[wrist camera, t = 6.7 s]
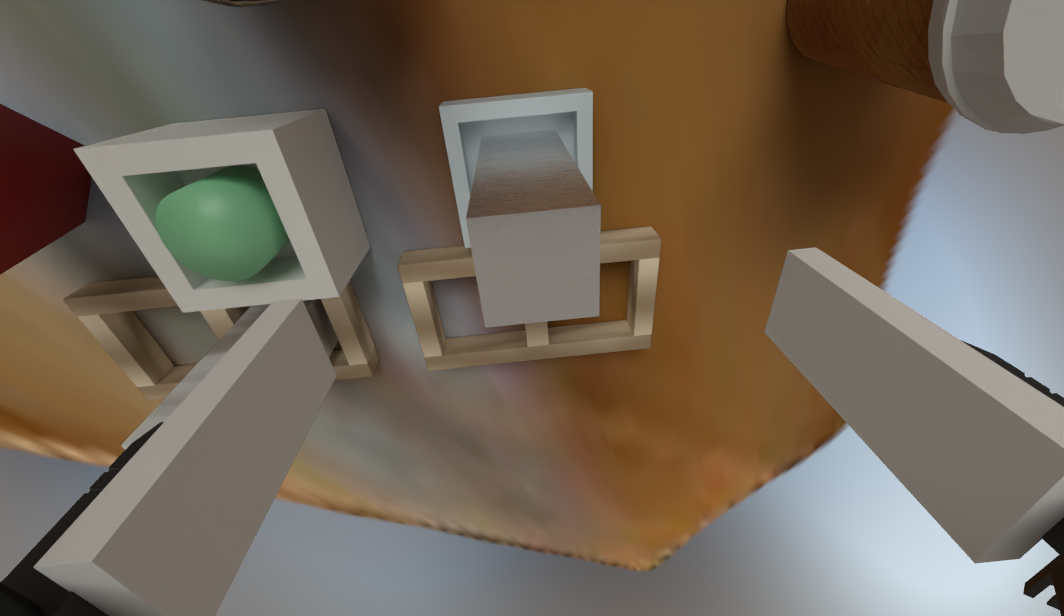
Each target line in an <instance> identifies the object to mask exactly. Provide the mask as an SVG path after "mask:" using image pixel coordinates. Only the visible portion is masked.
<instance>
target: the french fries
mask: <svg viewBox="0 0 1064 616" xmlns="http://www.w3.org/2000/svg"><path fill="white" fill-rule="evenodd" d="M83 146H84V145H82V144H80V143H78V142H76V141H74V140H72V139H70V138H68V137H66V136H64V135H62V134H60V133H58V132H56V131H54V130H52V129H50V128H48V127H46V126H44V125H42V124H40V123H38V122H35V121H33V120H31V119H29V118H27V117H25V116H23V115H21V114H19V113H17V112H15V111H13V110H11V109H9V108H7V107H5V106H3V105H1V104H0V274H2V273H3V272H5V271H7V270H8V269H10V268H12V267H13V266H15V265H16V264H18V263H20V262H21V261H23V260H24V259H26V258H28V257H29V256H31V255H32V254H34V253H36V252H37V251H39V250H40V249H42V248H44V247H45V246H47V245H48V244H50V243H52V242H53V241H55V240H57V239H58V238H60V237H61V236H63V235H65V234H66V233H68V232H69V231H71V230H73V229H74V228H76V227H77V226H79V225H81V224H82V223H84V222H85V217H86V210H87V204H88V197H89V191H90V184H91V178H92V176H91V175H90V173H89V172H88V170H87V169H86V167H85V166H84V164H83V163H82V161H81V160H80V158H79V157H78V156H77V154H76V153H75V151H74V150H73V149H75V148H79V147H83Z"/></svg>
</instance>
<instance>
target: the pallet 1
mask: <svg viewBox="0 0 1064 616" xmlns="http://www.w3.org/2000/svg"><path fill="white" fill-rule="evenodd" d="M63 300H64V301H65V303H66V304H67V305H68V306H69V307H70V309H71V310H72V311H73V312H74V313H75V314H76V316H77V317H78V318H79V319H80V320H81V322H82V323H83V324H84V325H85V326H86V327H87V329H88V330H89V331H90V332H91V333H92V335H93V336H94V337H95V338H96V339H97V340H98V342H99V343H100V344H101V345H102V346H103V347H104V349H105V350H106V351H107V352H108V353H109V355H110V356H111V357H112V358H113V359H114V360H115V362H116V363H117V364H118V365H119V366H120V368H121V369H122V370H123V371H124V372H125V373H126V375H127V376H128V377H129V378H130V379H131V381H132V382H133V383H134V384H135V385H136V386H137V388H138V389H139V390H140V391H141V392H142V394H143V395H144V396H145V397H146V398H147V399H148V400H152V399H162V398H165V399H164V400H163V401H162V402H161V403H160V404H159V405H158V406H157V407H156V408H155V410H154V411H153V412H152V413H151V414H150V415H149V416H148V417H147V418H146V419H145V420H144V421H143V422H142V423H141V425H140V426H139V427H138V428H137V429H136V430H135V431H134V432H133V433H132V434H131V435H130V436H129V437H128V438H127V439H126V441H125V442H124V443H123V444H122V445H121V446H122V447H123V448H124V449H125V450H126V449H127V448H128V447H129V446H130V444H131V443H133V442H134V441H135V440H137V439H138V438H140V437H141V436H142V435H144V434H145V433H146V432H148V431H149V430H150V429H152V428H153V427H154V426H156V425H157V424H159V423H160V422H165V421H166V420H167V418H168V417H169V416H170V415H171V414H172V413H173V412H174V411H175V410H176V408H177V407H178V406H179V405H180V404H181V403H182V402H183V401H184V400H185V398H186V397H187V396H188V395H189V394H190V393H191V392H192V391H193V390H194V388H195V387H196V386H197V385H198V384H199V383H200V382H201V381H202V380H203V379H204V377H205V376H206V375H207V374H208V373H209V372H210V371H211V370H212V369H213V367H214V366H215V365H216V364H217V363H218V362H219V361H220V360H221V359H222V357H223V356H224V355H225V354H226V353H227V352H228V351H229V350H230V349H231V347H232V346H233V345H234V344H235V343H236V342H237V341H238V340H239V339H240V338H241V336H242V335H243V334H244V333H245V332H246V331H247V330H248V329H249V328H250V326H251V325H252V324H253V323H254V322H255V321H256V320H257V319H258V318H259V316H260V315H261V314H262V313H263V312H264V311H265V310H266V309H267V308H268V306H269V305H270V304H265V305H255V306H251V307H249V306H245V307H235V308H225V309H215V310H205V311H200V312H201V313H202V315H203V317H204V318H205V320H206V321H207V323H208V324H209V326H210V328H211V329H212V331H213V332H214V334H215V335H216V337H217V338H218V340H219V341H218V342H217V343H216V344H215V345H214V346H213V348H212V349H211V350H210V351H209V352H208V353H207V354H206V355H205V356H204V357H203V358H202V359H201V360H200V361H199V362H198V364H191V365H181V366H174V365H173V364H172V362H171V361H170V360H169V358H168V357H167V356H166V354H165V353H164V352H163V350H162V349H161V348H160V346H159V345H158V344H157V342H156V341H155V340H154V338H153V337H152V336H151V334H150V333H149V332H148V330H147V329H146V328H145V326H144V325H143V324H142V322H141V321H140V320H139V318H138V317H137V316H136V314H135V313H134V311H136V310H146V309H156V308H166V307H176V306H178V305H177V303H176V302H175V300H174V299H173V297H172V296H171V294H170V293H169V292H168V290H167V289H166V287H165V286H164V284H163V283H162V281H161V280H160V278H159V277H158V276H152V277H142V278H132V279H122V280H112V281H102V282H92V283H89V284H88V285H86V286H84V287H83V288H81V289H79V290H78V291H76V292H74V293H72V294H71V295H69V296H67V297H66V298H64V299H63ZM303 302H304V305H305V307H306V309H307V311H308V313H309V316H310V318H311V320H312V322H313V324H314V327H315V329H316V331H317V333H318V335H319V338H320V340H321V342H322V344H323V346H324V349H325V351H326V353H327V355H328V357H329V360H330V362H331V364H332V366H333V368H334V371H335V373H336V375H337V376H336V378H335V380H334V381H336V380H346V379H355V378H365V377H373V374H374V372H375V369H376V366H377V364H378V361H379V359H380V358H379V356H378V353H377V350H376V348H375V345H374V342H373V340H372V337H371V334H370V332H369V329H368V326H367V324H366V321H365V318H364V316H363V313H362V310H361V308H360V305H359V302H358V300H357V297H356V294H355V292H354V289H353V286H352V284H351V281H349V282H348V284H347V286H346V287H345V289H344V290H343V292H342V294H341V295H340V297H334V298H324V299H314V300H304V301H303ZM338 340H339V342H340V345H341V347H342V349H337V350H333V349H334V348H335V346H336V344H337V342H338Z"/></svg>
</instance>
